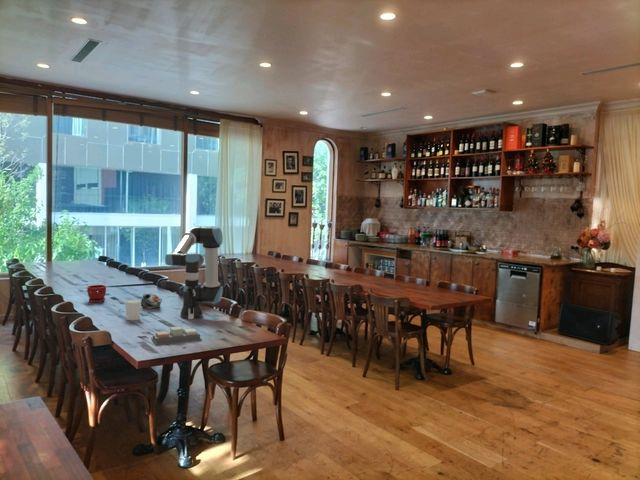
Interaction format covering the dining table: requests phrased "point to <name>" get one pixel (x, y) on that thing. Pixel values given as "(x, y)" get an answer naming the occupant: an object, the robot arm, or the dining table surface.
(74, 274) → the dining table surface
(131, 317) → the candle holder
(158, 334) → the terracotta tile
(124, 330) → the dining table surface
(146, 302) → the mottled brown lump
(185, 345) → the dining table surface
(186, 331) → the ivory tile
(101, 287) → the plant pot
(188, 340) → the button board
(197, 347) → the dining table surface
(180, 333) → the sage tile
